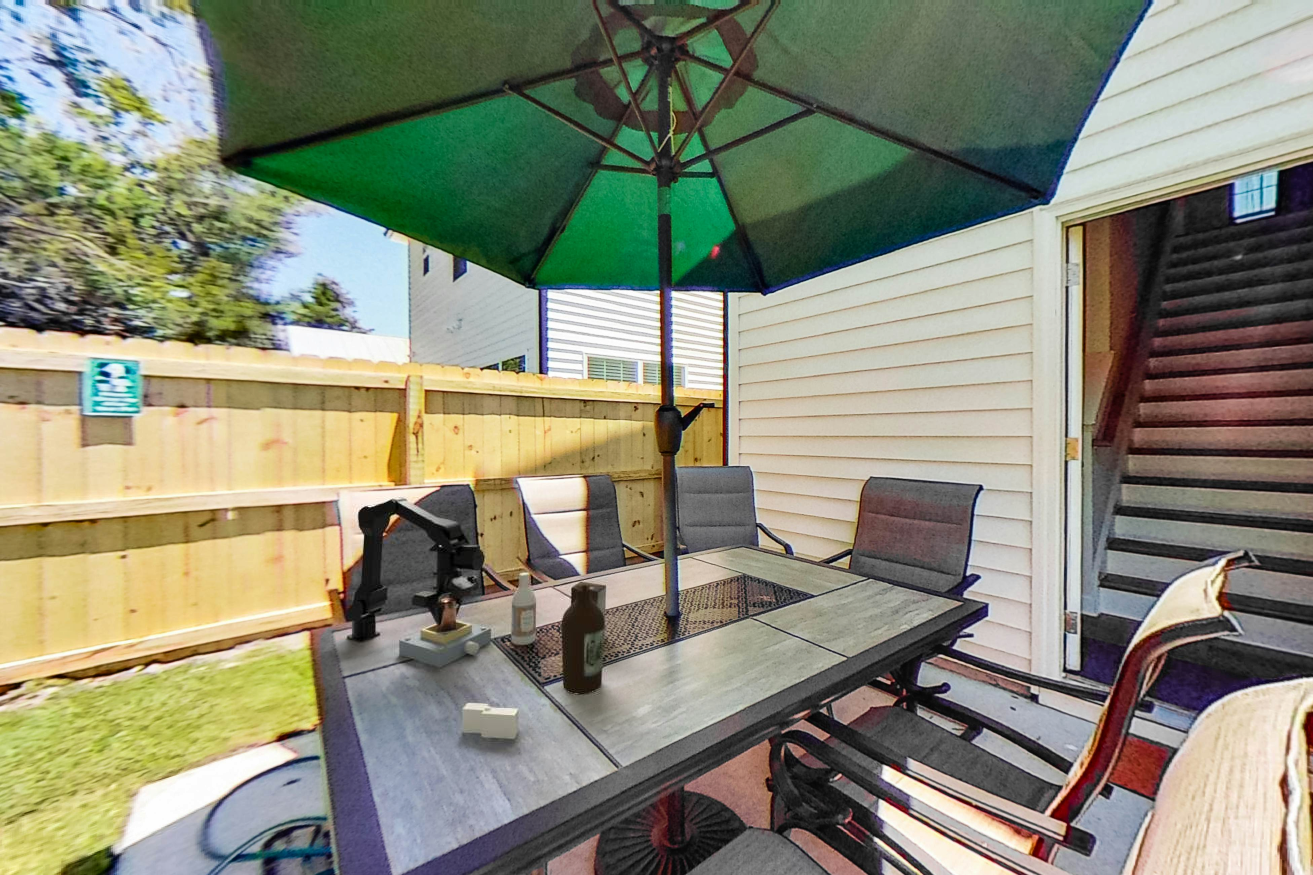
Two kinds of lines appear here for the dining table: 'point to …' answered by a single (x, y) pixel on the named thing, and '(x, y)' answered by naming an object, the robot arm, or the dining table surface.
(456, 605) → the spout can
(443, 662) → the grey plate with frame
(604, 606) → the coffee box
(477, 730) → the white stepped block
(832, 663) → the dining table surface
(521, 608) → the bath foam
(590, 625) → the olive oil
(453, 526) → the robot arm
